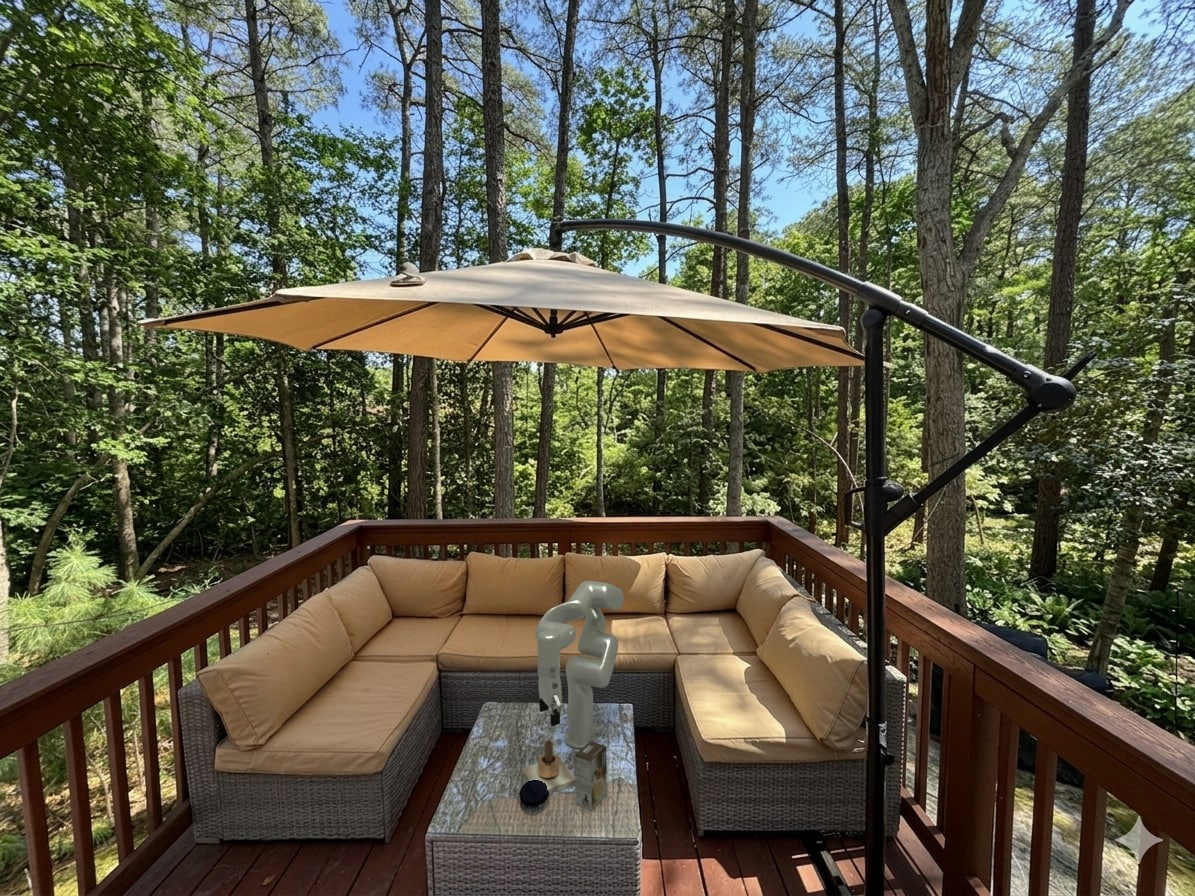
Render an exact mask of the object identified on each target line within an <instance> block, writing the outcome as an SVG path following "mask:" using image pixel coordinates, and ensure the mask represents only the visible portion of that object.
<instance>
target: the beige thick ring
mask: <svg viewBox="0 0 1195 896" xmlns="http://www.w3.org/2000/svg"><path fill="white" fill-rule="evenodd" d="M559 757H560V756H559V755H558V754H556V753H554V752H553V762H552V763H545V753H542V754H541V755H540V756H538V759H537V763H538V773H539V775H540V776H542V777H544V778H551V777H554V776H556V775H557V774H558V773H559Z"/></svg>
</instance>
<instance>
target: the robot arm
mask: <svg viewBox="0 0 1195 896" xmlns="http://www.w3.org/2000/svg"><path fill="white" fill-rule="evenodd" d="M624 600H625V597H624V592H623V591H622V589H621V588H620V587H618V586H615V585H613V584H612V583H608V582H602V581H593V580H585V581H582V582H581V583H580V584H579V585H578V586H577V588H576V589H575V591H574V592H573V593H572V595H571V596H570V598H569V599H568V601H565V602H563V603H561V604H558V605H556V606H554V607H552V608H550V609H549V610H547V611H546V612H545V613H544V615H543V616H542V618H541V619H540V620H539V622H538V624H537V625H536V628H535V637H536V641H537V643H536V644H537V675H538V683H537V684H538V694H539V695H538V699H539V700H538V701H539V704H538V705H539V709H538V710H539V712H540V713H542V712H545V711H549V709H550V711H551V713H550V727H555V726H558V725H560V724H561V711H562V703H563V695H562V681H561V677H560V673H561V650H563V649H564V650H565V649H566V648H568V647H569V646H570V647H571V646H572V644H574V642H575V640H576V637H577V631H576V628H575V627H574V626H573V625H571V624H567V623H570V622H575V621H580V620H583V619H584V618H585V619H584V624H583V626H582V628H581V632H580V637H579V639H578V643H577V651H578V652H579V653H580V654H582V655H584V656H582V655H575V656H572V657H570V658H569V659H568V660H567V662H566V665H565V676H566V682H567V689H568V693H567V694H568V695H567V697H568V698H567V699H568V700H567V702H568V703H567V705H568V707H567V713H568V714H567V716H568V717H567V719H568V720H567V721H568V722H567V723H568V724H567V725H568V726H567V731H566V732H565V733H564V735H563V736H564V737H563V740H564V742H565V744H566V745H567V746H568V747H571V748H573V749H574V748H575V749H582V748H583V747H584V746H585V745H586V744H588V743H589V742H590V741H593V742H595V743H597V742H598V741H597V740H598V734H597V733H598V732H601V731H604V730H605V725H604V724H603V723H602V724H599V723H598V722H595V723H594V693H593V688H592V687H594V688H598V689H599V688H600V689H602V688H606V687H607V686H608V685H609V683H610V681H611V678H612V674H613V670H614V666H615V662H616V658H617V655H618V651H619V641H618V637H617V636H616V635H614V634H613V633H609V632H608V633H607V632H605V628H606V624H607V621H606V617H605V615H604V613H603V612H602V610H601V608H602V609H606V610H607V609H608V610H615V611H616V610H617V611H618V610H620V608H622V607H623V604H624ZM586 656H589V657H586ZM592 657H594V658H592ZM597 658H598V659H597ZM554 707H555V709H554Z"/></svg>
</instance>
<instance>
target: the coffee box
mask: <svg viewBox="0 0 1195 896" xmlns="http://www.w3.org/2000/svg"><path fill="white" fill-rule="evenodd" d="M607 768H608V767H607V746H606V745H604V744H601V743H598V742H593V741H590V742H589V743H588V744H586V745H585V746H584V747H583V748H580V749H579V751H578V752H577V753H576V754H575V778H576V786H575V804H576V805H578V806H581V807H583V808H585V809H587V810H590V811H593V810H594V809H595V807H597V805H599V803H600V802H601V801H602V799H604V798H605V797H606V795H608V794H607V780H608V778H607Z"/></svg>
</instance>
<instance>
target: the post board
mask: <svg viewBox="0 0 1195 896" xmlns="http://www.w3.org/2000/svg"><path fill="white" fill-rule="evenodd" d="M553 745H554V743H553V741H551V740H550V739H548V740H546V741H545V743H544V754H545V763H552V762H553V753H554V751H553V749H554V747H553ZM558 757H559V773H558V774H557V775H556V776H554V777H551V778H544V777H542V776H540V775H539V773H538V762H537V763H534V764H531V765H528V766H525V767H522V768H521V775H522V777H523V778H524V780H525V781H532V780H539V781H542V782H543V783H545V784H546V786H547V790H548V791H549V793H550V795H553V794H555V793H554V792H556V793H558V792H562V791H564V790H567V789H570V788H572V787H576V776H574V774H573V773H572V772H571V770H570V769H569V767H567V765H566V764H565V762H564V761H563V760H562V759H561V757H560V756H558ZM561 790H562V791H561ZM552 793H553V794H552Z"/></svg>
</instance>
